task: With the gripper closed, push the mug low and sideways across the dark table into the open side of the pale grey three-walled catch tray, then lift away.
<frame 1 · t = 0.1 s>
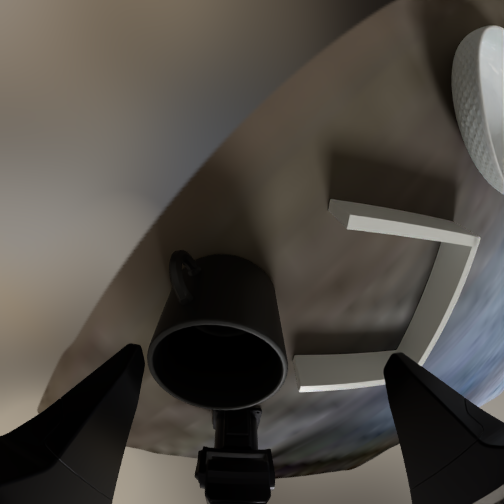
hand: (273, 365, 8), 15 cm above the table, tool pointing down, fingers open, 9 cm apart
mug: (217, 287, 24), on the table
catch tray: (371, 296, 25), on the table
cereal bowl: (480, 109, 17), on the table
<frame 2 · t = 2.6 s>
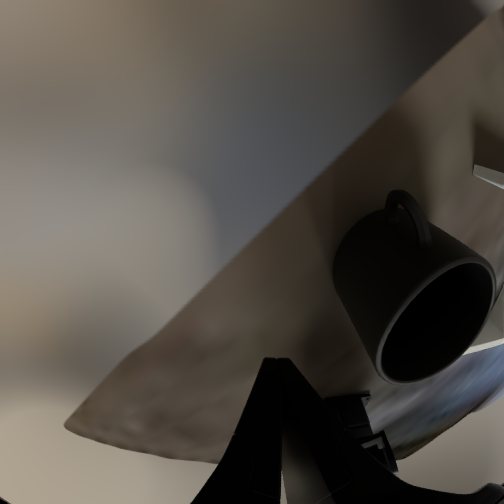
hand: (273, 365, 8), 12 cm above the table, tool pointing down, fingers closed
mug: (381, 247, 20), on the table
catch tray: (486, 260, 21), on the table
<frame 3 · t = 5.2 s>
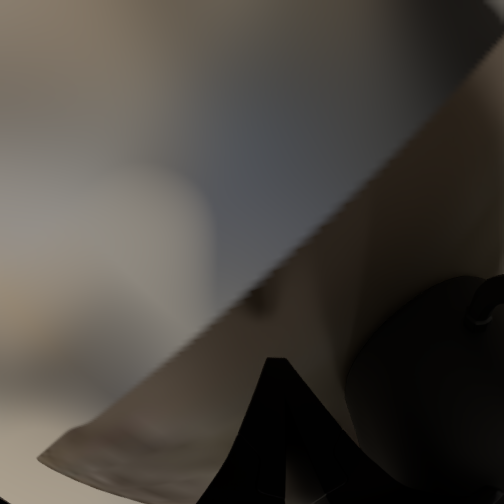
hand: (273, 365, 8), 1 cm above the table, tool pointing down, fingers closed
mug: (428, 335, 10), on the table, touching gripper
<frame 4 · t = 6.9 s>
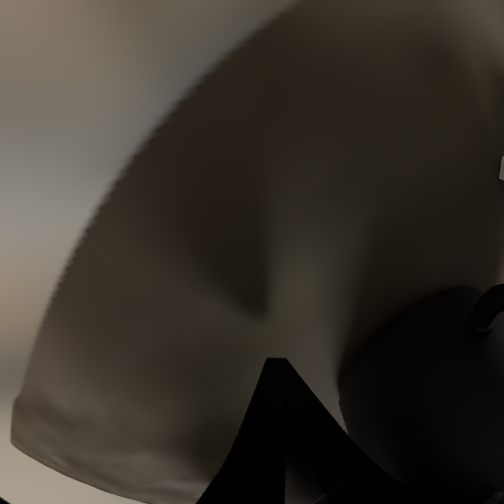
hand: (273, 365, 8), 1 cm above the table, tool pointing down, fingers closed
mug: (424, 343, 10), on the table, touching gripper
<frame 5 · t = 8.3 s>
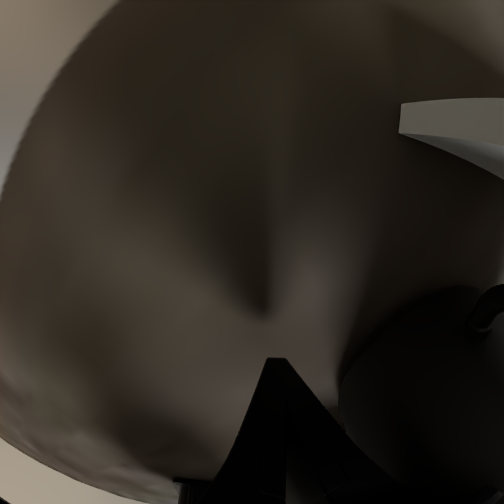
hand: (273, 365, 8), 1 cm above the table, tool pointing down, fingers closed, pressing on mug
mug: (423, 343, 10), on the table, touching gripper
catch tray: (451, 335, 10), on the table
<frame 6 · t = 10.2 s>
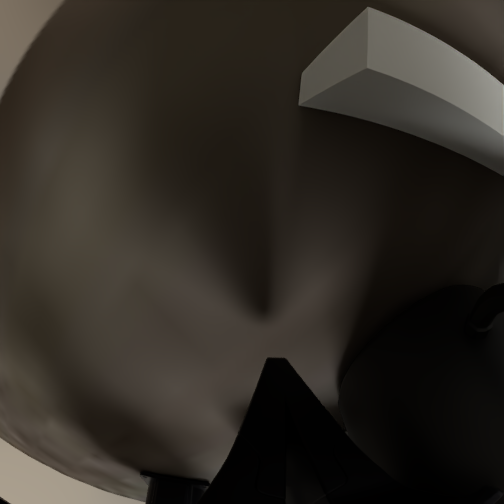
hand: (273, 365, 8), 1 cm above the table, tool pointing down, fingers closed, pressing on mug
mug: (423, 342, 10), on the table, touching gripper
catch tray: (407, 339, 10), on the table
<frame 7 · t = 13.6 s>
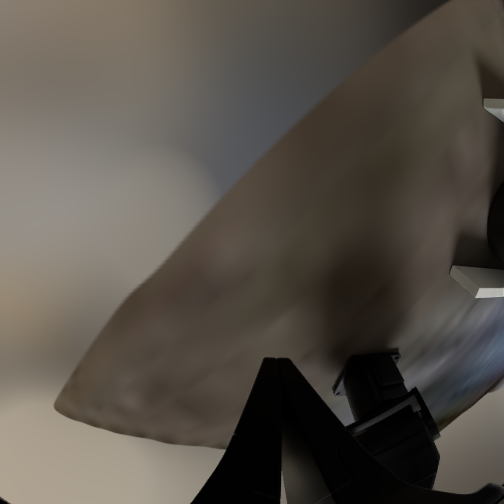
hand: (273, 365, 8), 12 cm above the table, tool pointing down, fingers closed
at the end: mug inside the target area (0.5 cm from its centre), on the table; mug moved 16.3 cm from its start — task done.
